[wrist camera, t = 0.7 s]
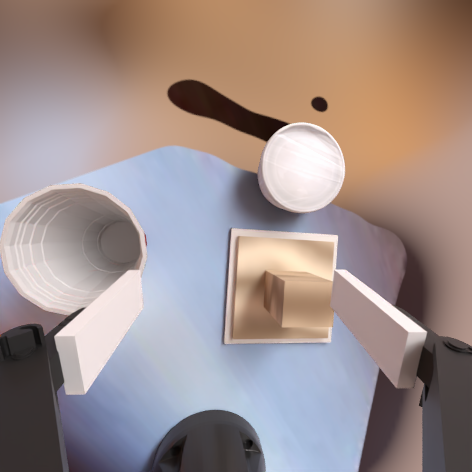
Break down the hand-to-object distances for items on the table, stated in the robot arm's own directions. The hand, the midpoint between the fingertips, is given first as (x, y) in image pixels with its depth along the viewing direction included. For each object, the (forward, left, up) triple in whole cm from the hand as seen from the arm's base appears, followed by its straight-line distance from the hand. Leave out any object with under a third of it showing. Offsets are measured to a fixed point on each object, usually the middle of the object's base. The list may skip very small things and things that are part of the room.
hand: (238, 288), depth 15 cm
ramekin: (+12, -10, -17) cm, 23 cm away
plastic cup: (+1, +12, -17) cm, 21 cm away
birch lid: (-4, -10, -16) cm, 19 cm away
